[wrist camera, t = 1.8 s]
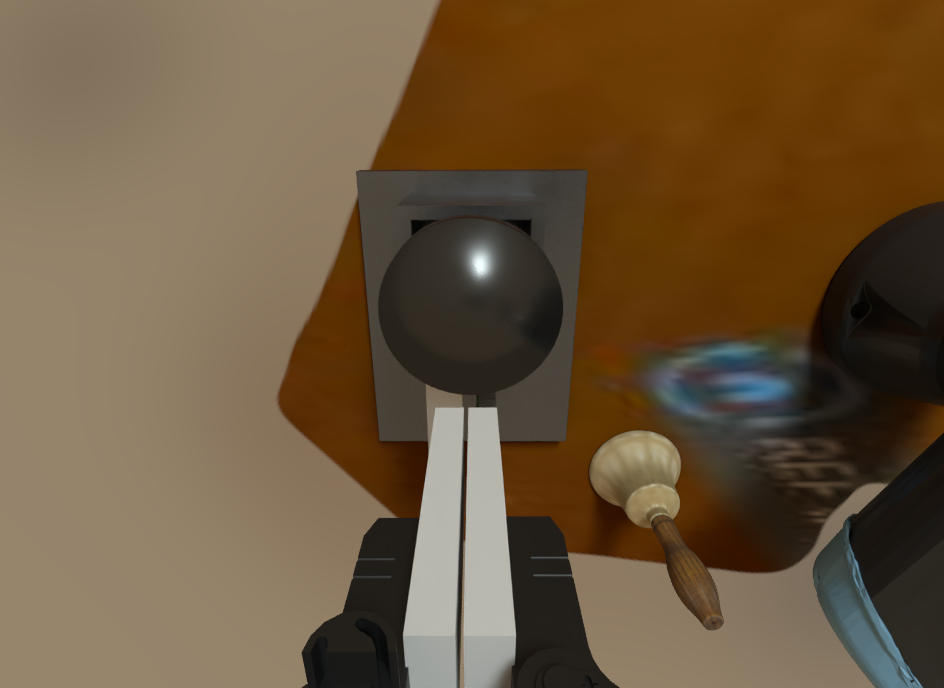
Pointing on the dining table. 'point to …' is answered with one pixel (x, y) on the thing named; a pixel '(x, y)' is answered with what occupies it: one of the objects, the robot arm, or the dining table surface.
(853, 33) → the dining table surface
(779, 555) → the dining table surface
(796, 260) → the dining table surface
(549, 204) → the press stand
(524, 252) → the black ball joystick
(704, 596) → the hand bell
